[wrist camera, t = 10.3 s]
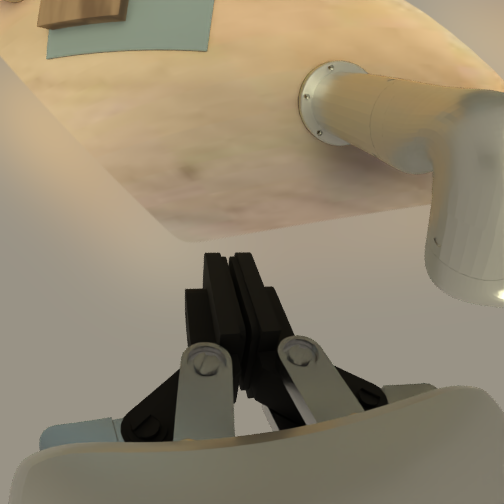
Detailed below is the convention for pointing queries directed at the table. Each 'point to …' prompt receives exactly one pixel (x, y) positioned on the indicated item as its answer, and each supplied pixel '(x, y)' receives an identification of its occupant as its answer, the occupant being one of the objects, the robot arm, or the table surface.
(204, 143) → the table surface
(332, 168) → the table surface
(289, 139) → the table surface
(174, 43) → the mat
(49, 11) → the block
